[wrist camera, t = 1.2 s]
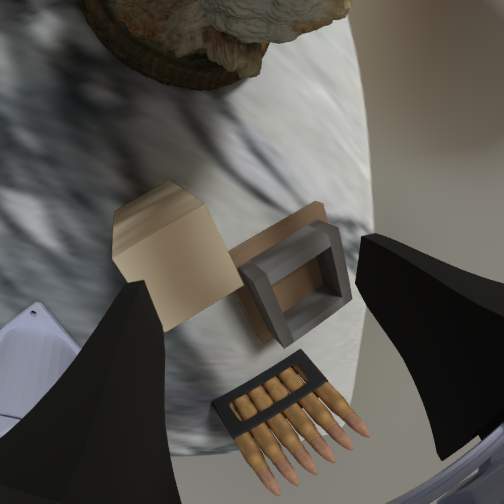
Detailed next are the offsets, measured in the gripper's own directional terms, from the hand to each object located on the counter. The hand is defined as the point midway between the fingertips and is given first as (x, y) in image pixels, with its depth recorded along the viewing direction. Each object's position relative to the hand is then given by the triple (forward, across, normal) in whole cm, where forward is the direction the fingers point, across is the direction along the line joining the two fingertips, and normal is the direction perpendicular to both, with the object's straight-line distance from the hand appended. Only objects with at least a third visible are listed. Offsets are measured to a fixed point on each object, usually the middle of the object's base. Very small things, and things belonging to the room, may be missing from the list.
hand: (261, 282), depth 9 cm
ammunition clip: (+9, 0, +20) cm, 22 cm away
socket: (+11, -4, +9) cm, 15 cm away
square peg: (+10, +5, +2) cm, 11 cm away
